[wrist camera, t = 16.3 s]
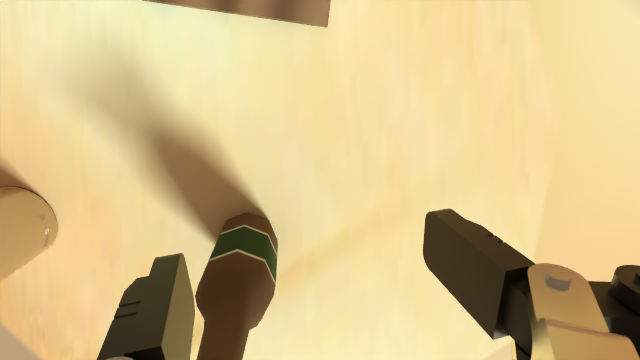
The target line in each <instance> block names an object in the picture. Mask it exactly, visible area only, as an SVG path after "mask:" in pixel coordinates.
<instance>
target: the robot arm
mask: <svg viewBox="0 0 640 360" xmlns="http://www.w3.org/2000/svg"><path fill="white" fill-rule="evenodd" d="M56 234H57V221H56V217H55V215H54V213H53V211H52V209H51V208H50V207H49V205H48V204H47V203H46V202H45V201H44V200H43V199H42V198H41V197H39V196H37V195H36V194H34V193H33V192H30V191H28V190H26V189H22V188H18V187H8V186H7V187H0V282H1V281H3V280H4V279H5V278H7V277H8V276H10V275H11V274H12V273H14V272H15V271H17V270H18V269H19V268H21V267H22V266H24V265H25V264H27V263H28V262H29V261H31V260H32V259H34V258H35V257H36V256H38V255H39V254H41V253H42V252H43V251H45V250H46V249H47V248H48V247H49V246H50V245H52V243H53V241H54V240H55V238H56ZM423 256H424V260H425V263H426V265H427V267H428V268H429V270H430V271H431V272H432V273H433V274H434V275H435V276H436V277H437V278H438V279H439V281H440V282H441V283H442V284H443V285H444V286H445V287H446V288H447V289H448V291H449V292H450V293H451V294H452V295H453V296H454V297H455V298H456V299H457V300H458V302H459V303H460V304H461V305H462V306H463V307H464V308H465V309H466V310H467V312H468V313H469V314H470V315H471V316H472V317H473V318H474V319H475V320H476V321H477V323H478V324H479V325H480V326H481V327H482V328H483V329H484V330H485V331H486V333H487V334H488V335H489V336H490V337H491V338H492V339H493V340H494V339H497V338H501V337H505V336H509V335H510V336H511V337H512V338H513V343H512V360H640V266H636V265H623V266H620V267H618V268H617V269H616V270H615V273H614V276H613V279H612V282H594V281H587V280H586V279H585V278H584V277H582V276H581V275H580V274H578V273H577V272H575V271H573V270H570V269H568V268H565V267H563V266H559V265H555V264H547V263H541V264H535V263H533V262H532V261H531V260H529V259H528V258H526V257H525V256H524V255H522V254H521V253H519V252H518V251H517V250H515V249H514V248H512V247H511V246H510V245H508V244H507V243H503V241H502V240H501V239H500V238H498V237H497V236H494V235H493V233H491V232H490V231H488V230H487V229H486V228H484V227H483V226H481V225H478V224H476V223H473V222H471V221H469V220H466V219H464V218H463V217H462V216H460V215H459V214H458V213H456V212H455V211H453V210H452V209H443V210H437V211H432V212H428V213H427V215H426V218H425V230H424V244H423ZM194 316H195V307H194V298H193V292H192V288H191V284H190V279H189V275H188V270H187V266H186V262H185V258H184V255H183V254H182V253H180V254H174V255H168V256H162V257H156V258H155V259H154V262H153V265H152V268H151V271H150V274H149V276H147V277H141V278H137V279H136V280H135V281H134V282H133V283H132V284H131V285H130V286H129V287H128V288H127V289H126V290H125V291H124V294H123V296H122V299H121V301H120V303H119V308H117V311H116V313H115V316H114V320H113V321H112V323H111V326H110V328H109V331H108V333H107V336H106V338H105V341H104V343H103V345H102V348H101V350H100V353H99V355H98V358H97V360H190V353H191V344H192V335H193V326H194Z"/></svg>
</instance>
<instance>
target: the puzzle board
mask: <svg viewBox="0 0 640 360" xmlns="http://www.w3.org/2000/svg"><path fill="white" fill-rule="evenodd" d="M143 1H150V2H157V3H164V4H170V5H177V6H184V7H191V8H198V9H205V10H211V11H218V12H225V13H232V14H239V15H246V16H252V17H259V18H266V19H273V20H280V21H287V22H293V23H300V24H307V25H314V26H321V27H327V26H328V18H329V10H330V1H331V0H143Z"/></svg>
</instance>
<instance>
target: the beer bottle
mask: <svg viewBox="0 0 640 360" xmlns="http://www.w3.org/2000/svg"><path fill="white" fill-rule="evenodd" d="M277 249H278V244H277V238H276V236H275V233H274V231H273V229H272V226H271V224H270V222H269V221H268V220H266V219H263V218H261V217H258V216H256V215H253V214H251V213H246V214H243V215H240V216H237V217H235V218H232V219H229V220H227V221H226V223H225V225H224V227H223V229H222V231H221V234H220V236H219V238H218V240H217V243H216V245H215V247H214V250H213V252H212V254H211V257H210V259H209V261H208V264H207V266H206V268H205V271H204V273H203V275H202V278H201V280H200V282H199V285H198V288H197V292H196V295H195V297H196V303H197V307H198V309H199V310H200V312H201V314H202V316H203V318H204V320H205V321H204V331H203V335H202V340H201V344H200V348H199V352H198V356H197V360H242V358H243V354H244V350H245V346H246V341H247V337H248V333H249V330H250V329H252V328H254V327H256V326H257V325H258V323H259V322H260V321H261V319H262V317H263V315H264V313H265V311H266V309H267V307H268V306H269V304H270V302H271V300H272V298H273V295H274V290H275V284H276V266H277Z"/></svg>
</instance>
